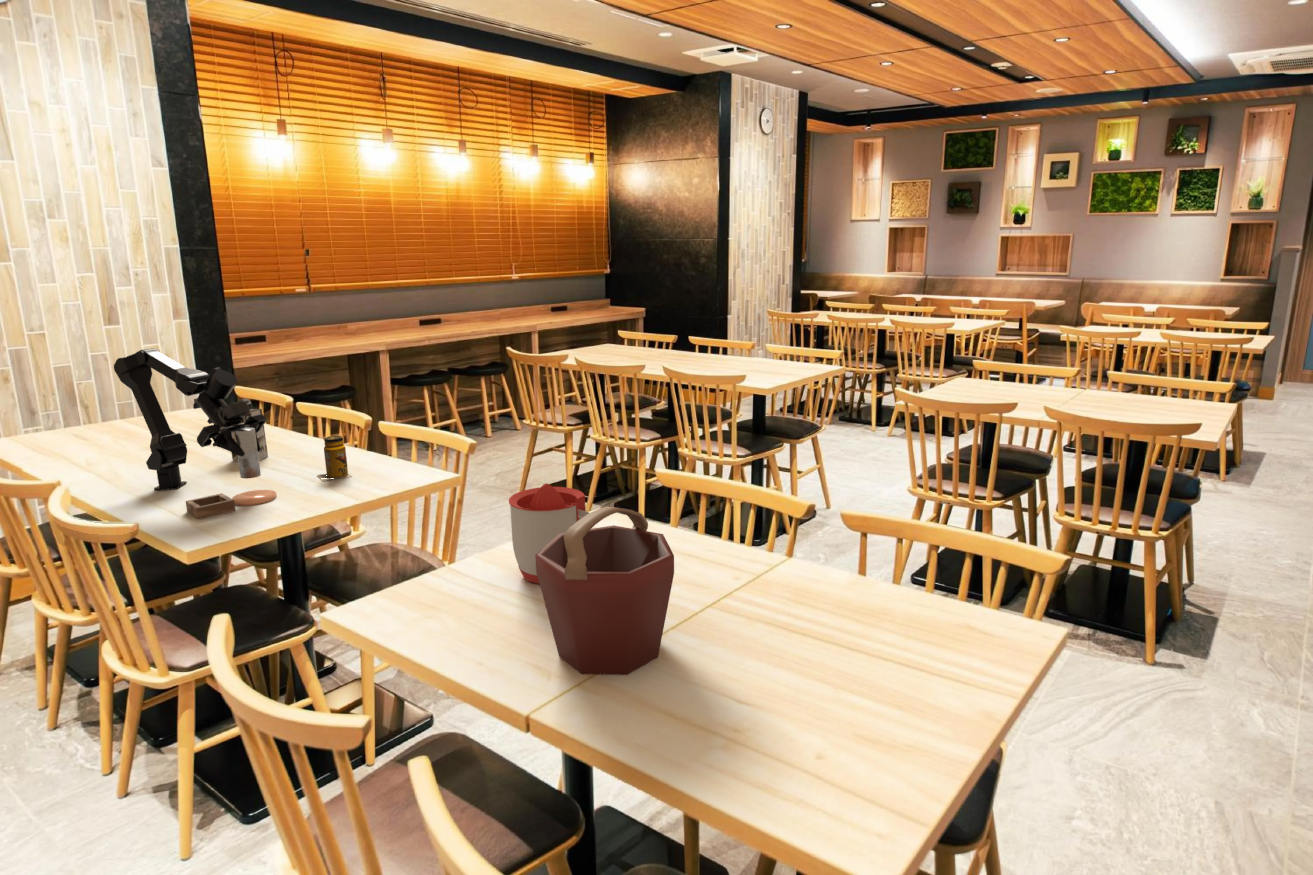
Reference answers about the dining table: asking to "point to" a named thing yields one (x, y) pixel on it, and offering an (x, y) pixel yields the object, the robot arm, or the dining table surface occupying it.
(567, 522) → the citrus juicer
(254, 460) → the peg
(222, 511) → the pocket block
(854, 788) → the dining table surface
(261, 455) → the coffee box
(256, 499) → the coaster
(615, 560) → the bucket
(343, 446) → the condiment
